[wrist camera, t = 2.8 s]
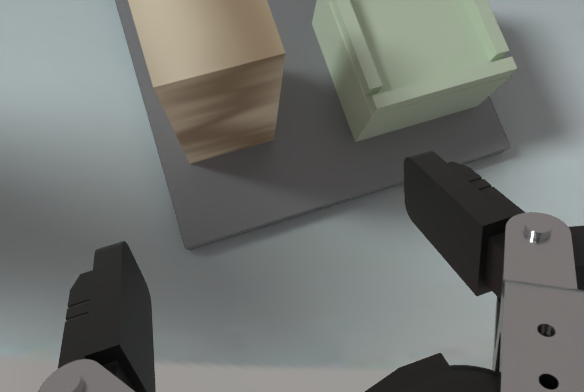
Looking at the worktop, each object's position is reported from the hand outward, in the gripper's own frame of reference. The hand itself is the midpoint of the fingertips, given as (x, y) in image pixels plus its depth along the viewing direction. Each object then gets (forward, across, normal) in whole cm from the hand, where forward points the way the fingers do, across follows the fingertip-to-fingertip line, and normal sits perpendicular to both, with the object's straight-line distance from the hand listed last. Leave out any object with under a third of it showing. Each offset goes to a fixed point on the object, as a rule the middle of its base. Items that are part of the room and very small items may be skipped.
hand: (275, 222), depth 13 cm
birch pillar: (+15, 0, +3) cm, 16 cm away
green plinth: (+15, -11, +3) cm, 19 cm away
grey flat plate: (+18, -6, +2) cm, 19 cm away
